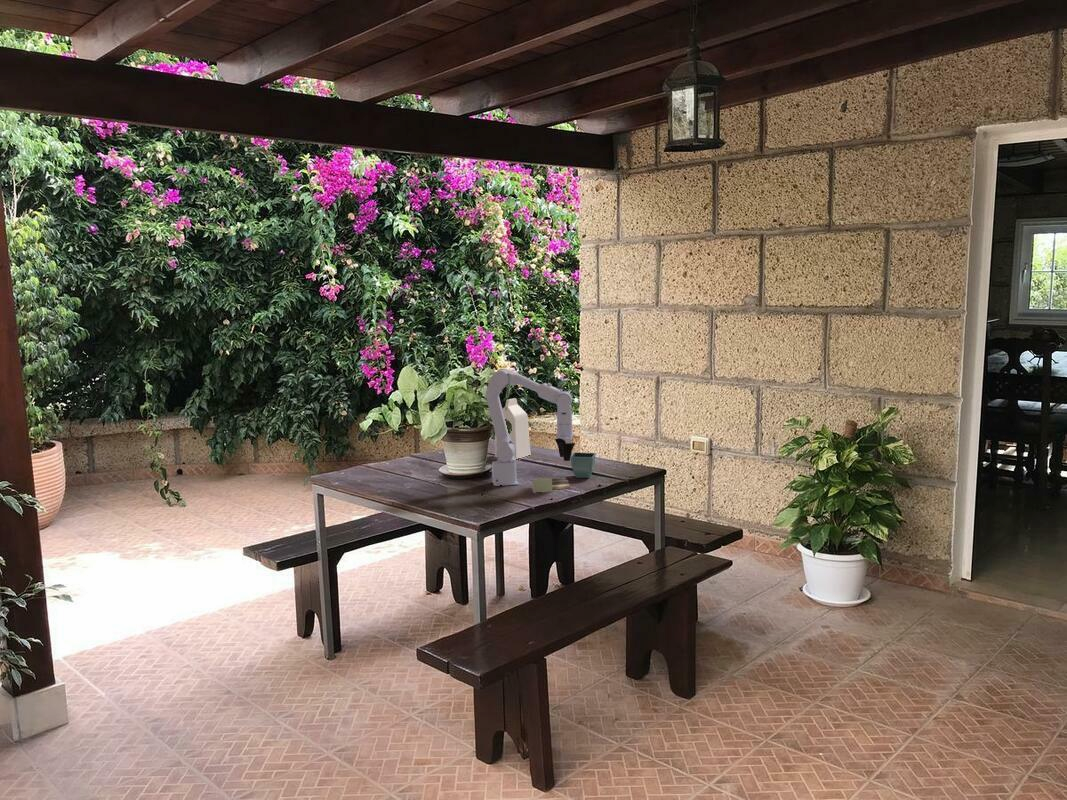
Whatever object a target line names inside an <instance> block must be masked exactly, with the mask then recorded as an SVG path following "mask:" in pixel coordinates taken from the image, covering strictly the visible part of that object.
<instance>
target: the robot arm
mask: <svg viewBox="0 0 1067 800" xmlns="http://www.w3.org/2000/svg"><path fill="white" fill-rule="evenodd" d="M507 385H509V386H515V385H516V386H517V385H518V386H521V387H523V388H526V389H529V390H531V391H534V392H536V393H537V395H538V397H539V398H541V399H542V400H545V401H548V402H550V403H552V404H556V406H557V410H556V438H554V440H555V443H556V445H557V448H558V454H559V457H560V458H562V459H563V461H564V462H569V461H570V462H571V456H572V454H573V450H574V447H575V445H576V443H575V442H572V439H573V438H575V437H576V434H573V411H572V402H573V397H572V394H571V393H570V392H569V391H567V390H563V389H562V388H560V389H559V388H557V387H555V386H552V383H550V382H548V383H547V382H543V383H541V384H540V383H538V382H536V381H535V380H532V379H530V378H529V377H526V376H524V375H522V374H520V373H518V372H515V371H513V370H508V369H507V368H501V369H499V370H497V371H495V372H494V373H493V374H492V376H490V378H489V382H488V384H487V387H486V391H485V398H486V402H487V406H488V409H489V413H490V417H491V422H492V426H493V428H494V430H493V431H494V435H495V434H496V438H497V448H498V449H497V457H498V458H496V459H497V460H496V461H495V460H494V461H492V462H491V482H492V484H493V486H494V487H499V486H500V485H502V486H517V485H519V484H520V483H519V481H518V480H517V460H516V459H515V457H514V454H515V453H516V447H515V445H514V444H513V443H512V440H511V437H510V436H509V433H508V429H507V425H506V421H505V418H504V414H503V410H502V409H503V407H502V403H501V399H500V394H501V393H502V391H503V389H504V388H505V387H506V386H507Z"/></svg>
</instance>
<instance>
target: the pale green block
mask: <svg viewBox="0 0 1067 800" xmlns="http://www.w3.org/2000/svg"><path fill="white" fill-rule="evenodd" d="M531 482H532V484H531V486H532V489H531V490H532V491H533V492H532V493H534V494H537V493H536V492H542V493H553V489H552V477H536V478H531Z"/></svg>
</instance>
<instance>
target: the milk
mask: <svg viewBox="0 0 1067 800" xmlns="http://www.w3.org/2000/svg"><path fill="white" fill-rule="evenodd" d="M502 410H503V414H504V418H505V419H507V420H509V421H510V423H511V424H512V431H511V433H510V434H509V436H510V437H511V440H512V443H513V444H514V445H515V447H516V453H515V454H514V457H515V459H518V458H522V457H525V456H528V455H531V456H532V454H531V441H530V440H531V439H530V428H529V426H530V425H529V417H528V416H529V415H528V414H527V412H526V411H525V410H524V409H523V408H522V407H521V406H520V405H519V404H518V400H517V398H516V397H513V398H509V399H506V401H505V406H504V407H502ZM497 449H498V448H497V438H496V434H495V433H494V458H495V457H497ZM528 457H529V456H528ZM525 458H526V457H525ZM522 459H523V458H522Z"/></svg>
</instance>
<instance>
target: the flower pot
mask: <svg viewBox="0 0 1067 800" xmlns="http://www.w3.org/2000/svg"><path fill="white" fill-rule="evenodd" d="M570 462H571V468H572V472H573V474H574V476H575V478H577V479H590V478H591V476H592V473H593V471H594V468H595V463H596V453H595V452H572V454H571V458H570Z"/></svg>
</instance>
